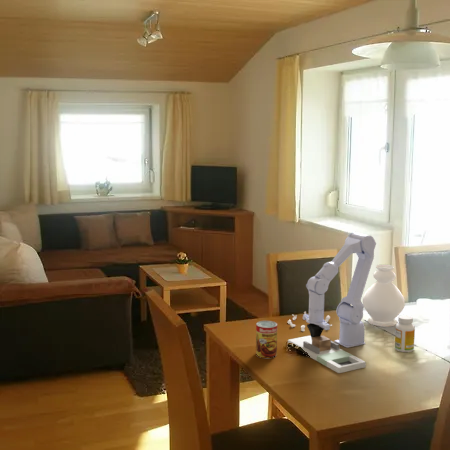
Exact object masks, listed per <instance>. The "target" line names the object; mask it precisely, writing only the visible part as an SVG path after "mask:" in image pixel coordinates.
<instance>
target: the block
mask: <svg viewBox="0 0 450 450" xmlns="http://www.w3.org/2000/svg"><path fill="white" fill-rule="evenodd" d="M331 341H332V339H331V338H328V337H327V336H325V335H322V334H321V336H317V337H312V345H314V346H316V347H318V348H319V349H320V352H321V351H326V350H330V349H331Z"/></svg>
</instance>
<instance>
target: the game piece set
mask: <svg viewBox="0 0 450 450" xmlns="http://www.w3.org/2000/svg"><path fill="white" fill-rule="evenodd" d="M303 313H304V315H305V314H307V311H304V312H303ZM291 315H292V316H293V317H292V320H293V321H296V319H297V316H298V315H297V314H291ZM330 319H331V316H330V315H329V314H328V315H326V317H325V318H324V320H325V321H326V322H327V323H329V320H330ZM292 320H291V319H290V318H289V320H287V323H288V324H287V325H289V326H290V327H291V328H295V327H296V324H294V323H293V322H292ZM329 325H330V327H333V324H332V323H331V324H329ZM300 328H301V329H300V331H301V332H305V331H306V330H305V328H306V325H305V324H302V325H301V326H300Z"/></svg>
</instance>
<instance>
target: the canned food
mask: <svg viewBox="0 0 450 450" xmlns="http://www.w3.org/2000/svg"><path fill="white" fill-rule="evenodd" d="M255 325H256V328H255V331H256V332H255V355H256V354H257V355H258V356H261V357H273V358H275V357H277V355H278V323H277V322H275V321H274V320H273V321H272V320H260V321H257V322H256V324H255ZM257 355H256V356H257ZM258 356H257V357H258ZM274 356H275V357H274ZM261 357H260V358H261Z"/></svg>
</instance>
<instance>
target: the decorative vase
mask: <svg viewBox="0 0 450 450" xmlns="http://www.w3.org/2000/svg"><path fill="white" fill-rule="evenodd" d="M375 268H376V269H377V270H375V271H374V272H373V273H372V274H373V278H374V279H375V280H376V281H375V282H374V283H372V284H371V286H369V287H368V289H366V291H365V292H364V293H363V295H362V296H363V297H362V304H363V306H364V308H363V309H364V310H365V311H366V312H367V314H368V315H369V316H370V317H369V318H368V319H367V323H369V324H371V325H372V326H376V327H381V328H382V327H383V328H384V327H385V328H387V327H390V328H391V327H396V324H397V323H398V320H397V319H396V318H398V317H399V316H400V314H401V313H402V312H403V310H404V308H405V305H406V303H405V302H406V300H405V297H404V295H403V294H402V292H401V291H400V289H399V288H398V287H397V285H396V284H394V282H393V281H394V280H395V279H397V278H396V277H397V275H396V273H395V272H394V271H393V270H395V266H394V265H392V264H386V263H385V264H376V265H375Z"/></svg>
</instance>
